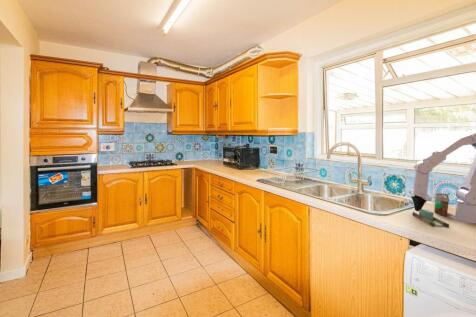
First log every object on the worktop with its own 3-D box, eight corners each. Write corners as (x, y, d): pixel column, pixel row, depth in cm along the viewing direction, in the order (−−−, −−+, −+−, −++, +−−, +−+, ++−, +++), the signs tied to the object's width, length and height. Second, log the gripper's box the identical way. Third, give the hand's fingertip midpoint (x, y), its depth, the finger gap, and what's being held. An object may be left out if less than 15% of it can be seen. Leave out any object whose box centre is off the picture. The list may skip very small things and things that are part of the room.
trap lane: (425, 216, 125) (425, 212, 125) (448, 228, 110) (449, 224, 110) (412, 215, 126) (412, 212, 125) (433, 227, 110) (434, 223, 110)
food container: (431, 209, 137) (434, 191, 136) (446, 211, 133) (448, 193, 132) (431, 214, 128) (433, 196, 127) (446, 217, 124) (449, 198, 123)
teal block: (427, 217, 122) (428, 209, 122) (432, 220, 118) (433, 212, 118) (418, 217, 122) (419, 209, 122) (423, 219, 119) (424, 211, 118)
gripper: (404, 181, 132) (401, 205, 134) (421, 187, 118) (418, 215, 120) (418, 182, 132) (415, 206, 133) (437, 188, 117) (433, 216, 119)
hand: (417, 210), depth 126 cm, fingers closed
